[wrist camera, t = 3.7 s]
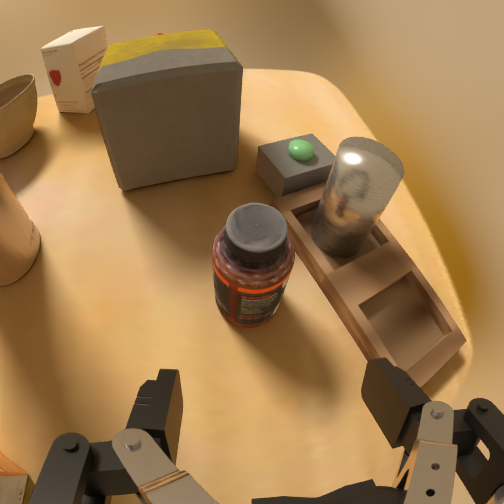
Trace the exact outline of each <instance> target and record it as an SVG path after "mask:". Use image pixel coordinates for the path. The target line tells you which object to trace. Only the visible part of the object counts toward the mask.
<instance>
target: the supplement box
mask: <svg viewBox="0 0 504 504" xmlns="http://www.w3.org/2000/svg"><path fill="white" fill-rule="evenodd" d="M106 50H107V42H106V35H105V27H104V26H99V27H92V28H84V29H78V30H72V31H70V32H68V33H67V34H65V35H63V36H61V37H60V38H58V39H56V40H55V41H52V42H50V43H49V44H47V45H45V46H44V47H43V48H41V51H42V55H43V59H44V63H45V67H46V70H47V74H48V77H49V81H50V85H51V88H52V91H53V95H54V98H55V101H56V104H57V107H58V110H59V112H72V113H86V114H88V113H90V112H91V111H92V110H93V109H94V108H95V107H94V103H93V99H92V95H91V90H92V87H93V84H94V81H95V78H96V76H97V73H98V70H99V67H100V65H101V62H102V59H103V57H104V54H105V52H106Z"/></svg>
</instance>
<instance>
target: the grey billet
mask: <svg viewBox="0 0 504 504" xmlns="http://www.w3.org/2000/svg"><path fill="white" fill-rule="evenodd" d="M403 176H404V167H403V165H402V162H401V161H400V159H399V158H398V157H397V155H396V154H395V153H394V152H392V151H391V150H390V149H389V148H388V147H386V146H384V145H383V144H381V143H379V142H377V141H374V140H372V139H368V138H364V137H350V138H347V139H345V140H343V141H342V142H341V143H340V145H339V148H338V151H337V154H336V157H335V160H334V163H333V166H332V169H331V172H330V175H329V178H328V180H327V183H326V186H325V189H324V192H323V195H322V198H321V200H320V203H319V206H318V209H317V211H316V214H315V217H314V220H313V222H312V225H311V236H312V239H313V241H314V243H315V244H316V246H317V247H318V248H319V249H320V250H321V251H323V252H324V253H326V254H328V255H330V256H333V257H336V258H348V257H351V256H353V255H355V254H356V253H358V251H359V250H360V249H361V247H362V245H363V244H364V242H365V241H366V239H367V237H368V236H369V234H370V233H371V231H372V229H373V228H374V226H375V224H376V223H377V221H378V220H379V218H380V216H381V215H382V213H383V211H384V209H385V208H386V206H387V204H388V203H389V201H390V199H391V197H392V196H393V194H394V192H395V191H396V189H397V187H398V185H399V183H400V182H401V180H402V178H403Z"/></svg>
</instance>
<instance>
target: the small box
mask: <svg viewBox="0 0 504 504" xmlns="http://www.w3.org/2000/svg"><path fill="white" fill-rule="evenodd" d="M27 477H28V474H27V473H26V472H25V471H23V470H22V469H20V468H19V467H18V466H16V465H15V464H14V463H13V462H11V461H10V460H9V459H8V458H7V457H5V456H4V455H3V454H2V453H1V452H0V504H22V502H23V497H24V492H25V487H26V482H27Z"/></svg>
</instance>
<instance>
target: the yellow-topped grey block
mask: <svg viewBox="0 0 504 504" xmlns="http://www.w3.org/2000/svg"><path fill="white" fill-rule="evenodd" d="M242 75H243V67H242V65H241V64H240V62H239V61H238V60H237V58H236V57H235V56H234V54H233V53H232V52H231V50H230V49H229V48H228V47H227V45H226V44H225V43H224V41H223V40H222V39H221V37H220V36H219V35H218V34H217V33H216V32H215V31H214V30H213V29H205V30H195V31H185V32H176V33H170V34H161V33H159V34H157V35H156V36H151V37H144V38H139V39H134V40H130V41H124V42H120V43H116V44H111V45H110V46H109V47H108V49H107V50H106V52H105V54H104V57H103V59H102V62H101V65H100V67H99V70H98V73H97V76H96V78H95V81H94V84H93V87H92V90H91V95H92V99H93V103H94V107H95V110H96V114H97V118H98V121H99V125H100V129H101V132H102V135H103V139H104V142H105V146H106V149H107V152H108V155H109V159H110V162H111V165H112V168H113V171H114V174H115V177H116V180H117V183H118V186H119V188H121V189H123V190H130V189H134V188H139V187H143V186H148V185H153V184H158V183H163V182H168V181H173V180H178V179H184V178H189V177H195V176H200V175H206V174H212V173H218V172H225V171H231V170H234V169H235V167H236V166H237V160H238V142H239V124H240V107H241V91H242Z"/></svg>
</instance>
